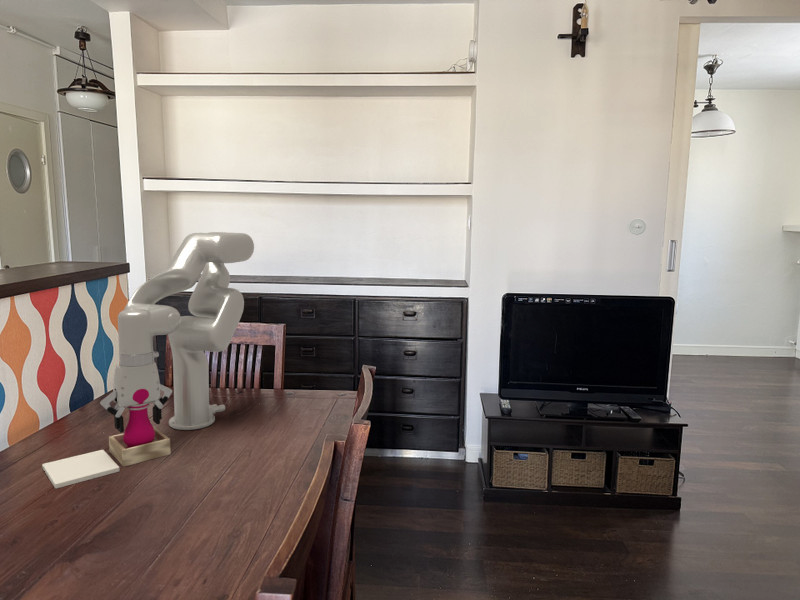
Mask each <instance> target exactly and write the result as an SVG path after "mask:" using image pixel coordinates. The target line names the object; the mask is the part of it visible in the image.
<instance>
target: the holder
mask: <svg viewBox="0 0 800 600" xmlns="http://www.w3.org/2000/svg"><path fill="white" fill-rule="evenodd" d="M152 426H153V425H152ZM153 428H154V431H155V438H154V440H153V441H152V442H151V443H147V444H143V445H139V446H135V447H131V448H127V449H126V447H127V445H126V444H125V443H124V440H123V436H124V432H122V433H119V434H115V435H110V436H108V448H109V449H108V452H109V453H110V454H111V455H112V456H113V457H114V459H116V460H117V461H118V462H119V464H120V465H121V466H122V467H128V466H131V465H136V464H138V463H143V462H146V461H147V462H148V461H151V460H153V459H157V458H161V457H165V456H169V455H171V438H169V436H167V435H166V434H164V433H163V432H162V431H160V430H159V429H158V428H157V427H156V426H153Z"/></svg>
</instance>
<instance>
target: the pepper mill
mask: <svg viewBox="0 0 800 600" xmlns="http://www.w3.org/2000/svg"><path fill="white" fill-rule="evenodd" d="M148 397H149V392H148V391H147V390H146V389H139V390H137V391H136V392H135V393H134V394H133V400H134V401H135V402H137V403H139V404H137V405H133V406H129V407H126V408H127V410H128V413H129V415H128V416H129V418H128V422H127V424H126V427H125V429H124V432H123V433H124V436H123V440H124V443H125V444H126V445H127V447H126V449H127V448H131V447H135V446H139V445H143V444H147V443H151V442H152V441H153V440H154V438H155V431H154V428H153V424H152V423H151V421H150V418H149V414H148V413H149V412H148V407H150V404H149V403H143V402H144V401H145V400H146V399H147V398H148Z"/></svg>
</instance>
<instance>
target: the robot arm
mask: <svg viewBox="0 0 800 600" xmlns="http://www.w3.org/2000/svg"><path fill="white" fill-rule="evenodd" d="M254 250H255V243H254V239H252V237H251V236H250V235H249V234H247V233H244V232H225V231H224V232H223V231H221V232H220V231H218V232H217V231H211V232H193V233H190V234H188V235H187V236H185V238H184V239H183V240H182V242H181V244H180V245H179V247H178V249H177V250H176V251H175V254H174V255H173V256H172V258H171V260H170V261H169V264H168V265H167V267H166V268H165V269H164V270H162V271H160V273H158V274H156V275H154V276H152V277H151V278H150V279H148V280H147V281H145V282H144V283H142V284H141V285H140V286H138V287H137V288H136V290H134V292H133V293H132V294H131V297H130V299H129V300H128V301H127V303H126V305H125V306H124V309H123V310H122V311H120V312H119V313H118V315H117V329H118V330H117V333H118V337H117V338H118V358H119V359H118V362H119V364H117V365H115V368H114V375H113V383H112V385H113V387H112V388H113V389H112V390H113V391H112V392H111V393H109V394H108V395H107V396H105V397H104V398H103V399H101V400H100V402H99V403H100V405H101V406H102V408H104V409H105V410H106V411H107V412H108V413H110V414H111V415H113V419H114V421H113V423H114V429H115V430H117V431H118V432H119V434H123V433H124V431H125V429H124V428H125V427H124V426H125V424H124V423H125V422H124V416H123V415H122V414H123V412H124V411H125V409H126V408H127V407H129V406H133V405H137V404H139V403H137V402H135V401H134V400H133V394H134V393H135V392H136V391H137V390H139V389H146V390H147V391H148V392H149V397H148V398H147V399H146V400H145V401H144V402H143V403H152V404H153V405H154V406H152V422H153V423H154V424H156V425H160V424H161V420H162V409H163V408H164V405H166V403H167V401H168V400H169V398H170V396H171V395H172V394H173V407H174V408H173V409H174V415H173V416H172V417H170V419H169V420H168V426H169V427H170V428H172V429H175V430H178V431H182V430H183V431H191V430H192V431H193V430H199V429H204V428H206V427H209V426H210V425H212V424H213V423H215V420H216V418H215V417H216V416H215V414H216V413H221V412H224V411H226V406H225V404H219V405H217V403H214V404H210V386H209V385H210V384H209V383H210V382H209V378H210V376H209V375H210V374H209V361H208V357H207V355H206V354H205V352H212V353H219V352H220V353H221V352H222V351H225V350H226V349H227V348H228V346H230V344H231V341H232V340H233V337H234V335H235V333H236V331H237V328H238V326H239V323H240V321H241V318H242V315H243V313H244V308H245V299H244V296H243V294H242V292H241V291H240V290H238V289H236V288H234V287H233V288H232V287H229V285H230V282H231V275H230V272H229V270H228V269H227V267H226V266H225V264H235V263H240V262H246V261H248V260H250V258H252V256H253V253H254ZM198 279H199V280H198ZM195 285H196V286H195ZM193 287H194V289H193V292H192V294H191V295H190V298H189V300H188V305H187V307H188V311H189V312H190V314H192V315H183V316H181V314H180V312H179V311H178V309H176V308H175V307H173V306H170V305H163V304H156V303H158V302H159V301H160V300H162V299H165V298H166V297H169V296H173V295H176V294H179V293H182V292H184V291H187V290H190V289H191V288H193ZM159 335H160V336H163V335H167V337H168V341H169V345H170V348H171V353H172V354H171V355H172V370H173V371H172V372H173V374H172V375H173V389H171V388H169V387H167V386H165V385H163V384H161V382H160V375H159V371H158V366H157V363H156V362H155V358H158V357H159V356H160V354H159V351H154V346H153V345H154V343H153V341H154V340H153V339H154V336H159ZM161 391H163V395H162V396H161V394H162V393H161ZM111 402H114V403H115V404H116V405H115V406H114V407H113V406H111V404H110V403H111Z"/></svg>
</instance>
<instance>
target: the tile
mask: <svg viewBox="0 0 800 600" xmlns="http://www.w3.org/2000/svg"><path fill="white" fill-rule="evenodd" d="M41 464H42V465H41V468H42V471H45V472H44V473H45V475H46V476H47V478H48V480H49V481H50V483H51V484H52V486H53V488H54V489H55V490H56V489H59V488H63V487H66V486H70V485H75V484H78V483H83V482H85V481H88V480H89V481H90V480H92V479H93V480H94V479H97V478H100V477H103V476H107V475H110V474H111V475H112V474H114V473H119V472H120V466H119V465H118V464H117V463H116V462H115V461H114V460H113V459H112V458H111V456H110V455H109V454H108V453H107V452H106V451H105V450H104V449H100V450H95V451H91V452H87V453H84V454H83V453H82V454H78V455H74V456H70V457H66V458H62V459H58V460H54V461H50V462H45V463H41Z"/></svg>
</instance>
